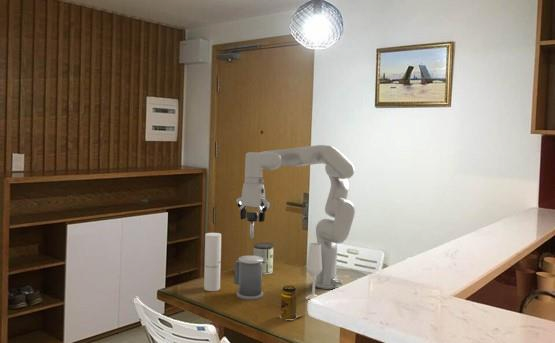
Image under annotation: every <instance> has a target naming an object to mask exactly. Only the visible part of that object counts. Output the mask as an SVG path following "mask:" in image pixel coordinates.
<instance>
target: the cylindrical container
mask: <svg viewBox="0 0 555 343" xmlns="http://www.w3.org/2000/svg"><path fill="white" fill-rule="evenodd" d="M204 238H205V239H204V276H203V278H204V279H203V282H204V283H203V289H204V290H205V291H208V292H215V291H219V290H221V260H222V257H221V256H222V233H220V232H207V233H205V236H204Z"/></svg>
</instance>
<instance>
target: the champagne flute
mask: <svg viewBox="0 0 555 343" xmlns="http://www.w3.org/2000/svg"><path fill="white" fill-rule="evenodd" d="M306 265H307V266H306V272H308V274H309V275H310V276H311V277H312V282H313V284H312V283H311V284H312V289H311V294H309V295H307V296H305V299H306V300H308V299H309V298H310V299H311V298H313V297H315V296H318V295H317V294H315V293H316V287H315V280H316V276H317V275H319V274H320V273H321V271H322V256H321V244H319V243H317V242H311V243H309V250H308V258H307V264H306Z"/></svg>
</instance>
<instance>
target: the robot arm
mask: <svg viewBox="0 0 555 343" xmlns="http://www.w3.org/2000/svg"><path fill="white" fill-rule="evenodd" d="M244 159H245V160H244V161H245V163H244V165H245V166H244V183H243V186H242V189H241V196H240V197H238V198H236V199H235V200H236V204H237V207H238V209H239V210H240V220H245V219H247V209H246V208H254V209H255V208H256V209H258V222H259V223H262V222H265V219H266V218H265V217H266V216H265V214H266V212H267V211H268V210H269V208H270V206H271V203H270V202H269V201H268V200H267V199H266V190H265V185H264V184H263V183H264V182H265V179H264V178H263V170H270V171H271V170H272V171H275V170H277V169H279V168H280V167H282V166H284V167H285V166H286V167H304V166H310V165H312V166H313V165H320V164H323V165H325V166H324V170H325V173H326V174H327V176H328V178H329V181H330V190H329V193H328V195H327V196H328V197H327V199H326V202H325V205H324V206H325V207H324V212H325V214H326V215H327V216H329V217H331V218H333V219H334V220H332V219H329V218H324V219H321V220H319V221H318V222H317V224H316V226H315V236H316V243H319V244H321V256H322V271H321V273H320V274H319V275H317V276H316V277H315V288H318V289H325V290H332V289H337V288H338V287H339V286H343V285H344V280H343V279H339V276H338V275H337V265H338V264H337V263H338V262H337V261H338V259H337V258H338V244H342V243H344V242H345V241H346V240H347V239H348V236H349V234H350V232H351V228H352V225H353V221H354V218H355V213H356V211H355V210H356V209H355V206H354V204H353V202H352V201H350V200H348V193H349V190H350V189H349V188H350V186H349V184H350V183H349V182H348V181H349V180H348V179H350V178H353V176H354V174H355V166H354V164H353V162H351V161H350V160H349V159H348V158H347V157H346V156H345V154H343V153H341V152H340V151H339V150H338V149H337V148H336V147H334V146H332V145H325V144H323V145H322V144H317V145H308V146H300V147H293V148H292V147H291V148H283V149H282V148H281V149H273V150H265V151H261V152H257V151H256V152H253V151H252V152H251V151H250V152H246V154H245V158H244ZM311 284H313V281H312V282H311Z"/></svg>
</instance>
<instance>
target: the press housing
mask: <svg viewBox="0 0 555 343" xmlns="http://www.w3.org/2000/svg"><path fill="white" fill-rule="evenodd" d="M262 262H263V258H262V257H259V256H254V255H242V256H239V257H238V260H235V261H234V274H233V275H234V277H233V278H234V279H233V284H234V285H238V290H237V291H236V297H237V298H239V299H242V300H247V301H251V300H252V301H253V300H254V301H255V300H260V299H262V298H263V297H264V292H263V290H262V288H263V287H262V286H263V285H262V284H263V274H262Z"/></svg>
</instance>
